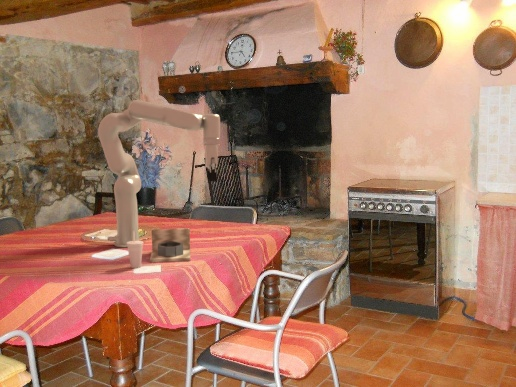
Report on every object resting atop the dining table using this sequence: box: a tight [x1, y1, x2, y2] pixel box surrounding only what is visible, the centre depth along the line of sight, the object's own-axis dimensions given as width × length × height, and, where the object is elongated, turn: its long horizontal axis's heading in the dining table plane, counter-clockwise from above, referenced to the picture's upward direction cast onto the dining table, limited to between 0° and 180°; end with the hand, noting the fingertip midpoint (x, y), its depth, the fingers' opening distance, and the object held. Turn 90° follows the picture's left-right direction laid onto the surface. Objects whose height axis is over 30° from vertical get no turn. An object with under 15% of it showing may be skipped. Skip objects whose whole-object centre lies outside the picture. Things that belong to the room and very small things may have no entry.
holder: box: [149, 227, 191, 263], centre depth 216 cm, size 16×16×10 cm
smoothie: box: [127, 231, 145, 269], centre depth 200 cm, size 6×6×14 cm
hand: (212, 180), depth 234 cm, fingers open, 9 cm apart
